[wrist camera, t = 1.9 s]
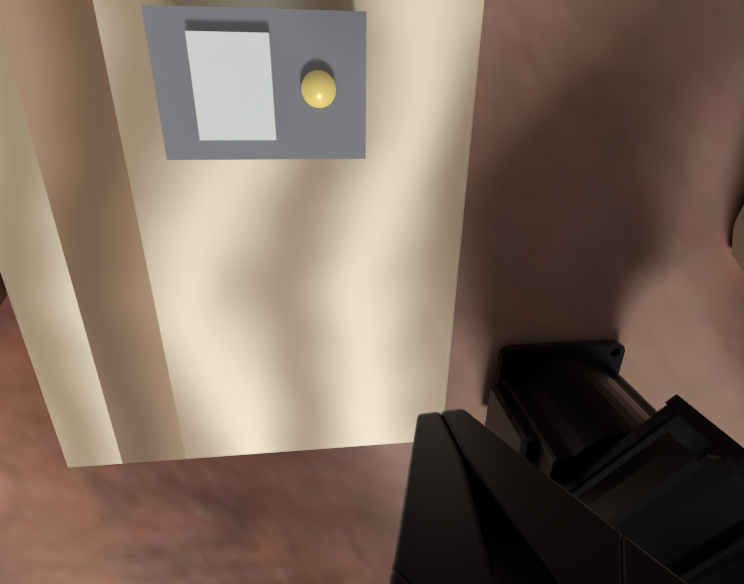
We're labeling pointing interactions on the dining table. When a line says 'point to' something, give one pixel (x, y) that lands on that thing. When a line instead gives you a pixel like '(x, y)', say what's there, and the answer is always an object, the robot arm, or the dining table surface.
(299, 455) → the dining table surface
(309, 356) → the plywood panel
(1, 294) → the marker peg
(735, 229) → the hammer
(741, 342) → the dining table surface
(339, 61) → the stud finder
